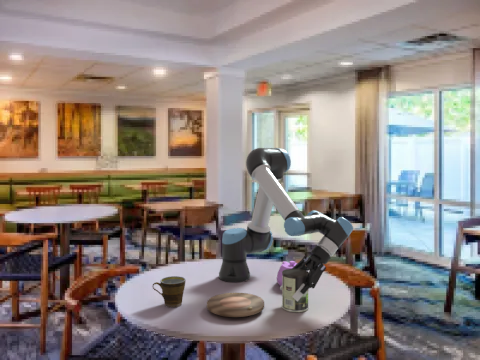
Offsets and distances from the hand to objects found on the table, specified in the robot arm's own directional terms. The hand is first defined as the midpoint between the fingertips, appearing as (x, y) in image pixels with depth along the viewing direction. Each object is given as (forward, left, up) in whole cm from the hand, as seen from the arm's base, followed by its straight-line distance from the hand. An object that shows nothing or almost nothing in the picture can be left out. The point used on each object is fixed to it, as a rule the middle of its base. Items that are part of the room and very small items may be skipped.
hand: (288, 294), depth 158 cm
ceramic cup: (-31, -35, -6) cm, 47 cm away
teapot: (-19, +21, -6) cm, 29 cm away
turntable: (-11, -17, -5) cm, 21 cm away
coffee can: (+1, +3, -6) cm, 6 cm away
